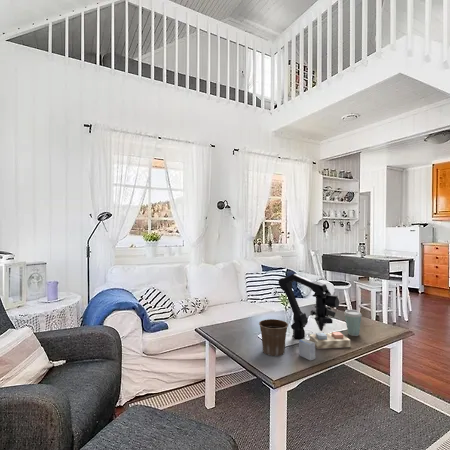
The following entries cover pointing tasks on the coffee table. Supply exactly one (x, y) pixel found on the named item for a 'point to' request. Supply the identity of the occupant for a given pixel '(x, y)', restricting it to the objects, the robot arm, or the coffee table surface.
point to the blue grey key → (321, 336)
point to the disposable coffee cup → (353, 321)
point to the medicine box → (307, 349)
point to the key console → (330, 342)
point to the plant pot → (273, 336)
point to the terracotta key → (337, 335)
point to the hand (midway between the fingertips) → (321, 330)
